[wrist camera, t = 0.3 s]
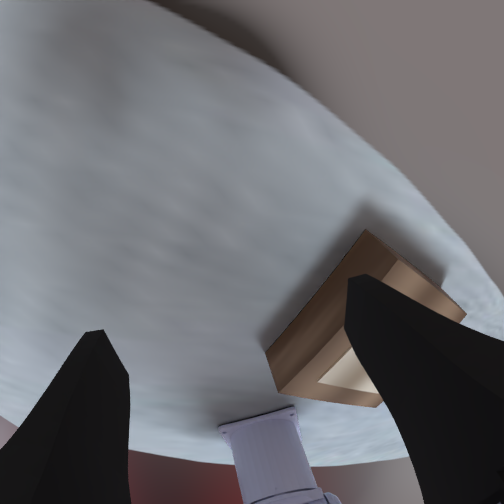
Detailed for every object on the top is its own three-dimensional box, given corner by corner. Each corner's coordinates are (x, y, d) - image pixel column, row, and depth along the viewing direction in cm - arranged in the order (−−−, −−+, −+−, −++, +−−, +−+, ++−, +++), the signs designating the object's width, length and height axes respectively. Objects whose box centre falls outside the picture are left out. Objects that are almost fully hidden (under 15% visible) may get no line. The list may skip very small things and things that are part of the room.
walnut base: (441, 288, 25) (468, 315, 22) (359, 377, 29) (376, 408, 26) (365, 229, 20) (399, 260, 17) (265, 353, 24) (278, 394, 20)
